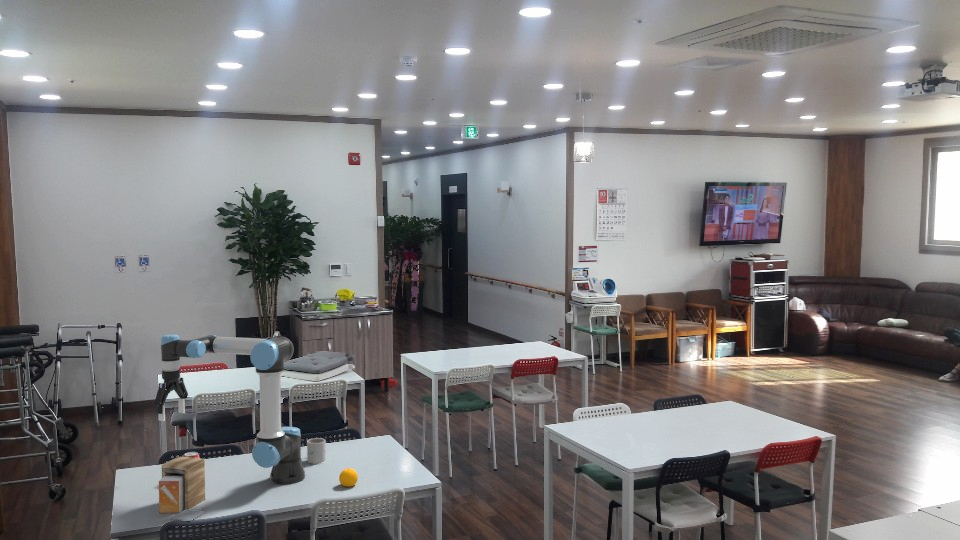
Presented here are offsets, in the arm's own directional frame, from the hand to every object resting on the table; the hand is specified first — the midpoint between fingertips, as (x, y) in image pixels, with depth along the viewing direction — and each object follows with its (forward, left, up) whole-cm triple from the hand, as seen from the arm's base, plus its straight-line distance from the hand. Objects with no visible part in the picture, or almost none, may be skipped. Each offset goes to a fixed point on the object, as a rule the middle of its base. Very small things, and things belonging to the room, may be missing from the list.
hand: (171, 416), depth 331 cm
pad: (-33, +36, -28) cm, 56 cm away
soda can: (-9, 0, -28) cm, 30 cm away
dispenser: (-23, +24, -28) cm, 44 cm away
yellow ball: (-79, -12, -28) cm, 85 cm away
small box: (-23, +32, -28) cm, 48 cm away
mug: (-49, -40, -28) cm, 70 cm away
